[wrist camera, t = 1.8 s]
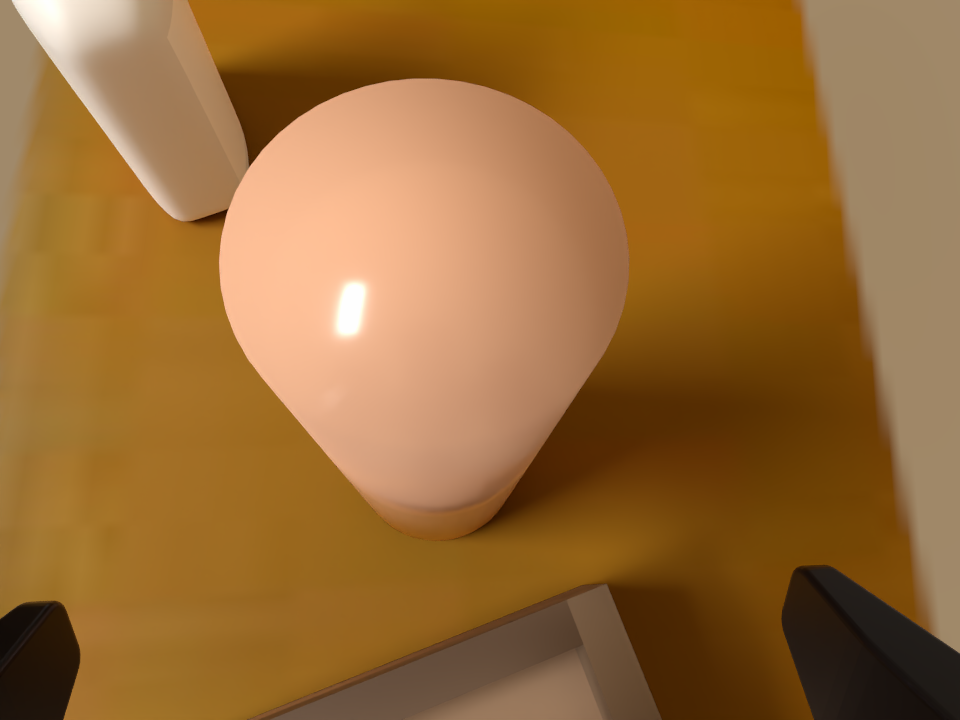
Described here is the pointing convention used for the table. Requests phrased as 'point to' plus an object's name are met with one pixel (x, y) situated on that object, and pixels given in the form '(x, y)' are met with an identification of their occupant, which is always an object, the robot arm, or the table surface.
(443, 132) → the peach tall rounded piece
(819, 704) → the robot arm
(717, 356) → the table surface
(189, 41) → the eye dropper bottle
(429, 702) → the square wooden tray
